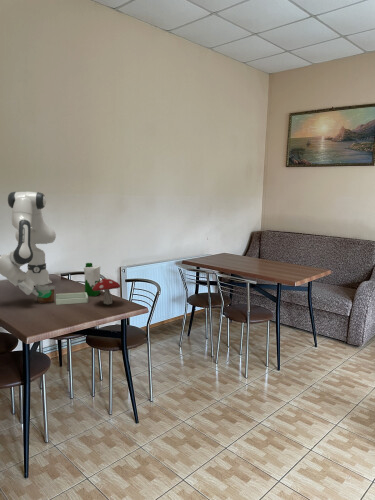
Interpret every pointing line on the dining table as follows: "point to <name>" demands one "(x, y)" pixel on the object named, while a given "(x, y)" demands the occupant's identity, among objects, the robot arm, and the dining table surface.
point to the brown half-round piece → (45, 293)
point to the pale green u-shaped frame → (74, 299)
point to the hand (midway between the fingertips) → (38, 294)
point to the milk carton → (91, 278)
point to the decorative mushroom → (106, 288)
